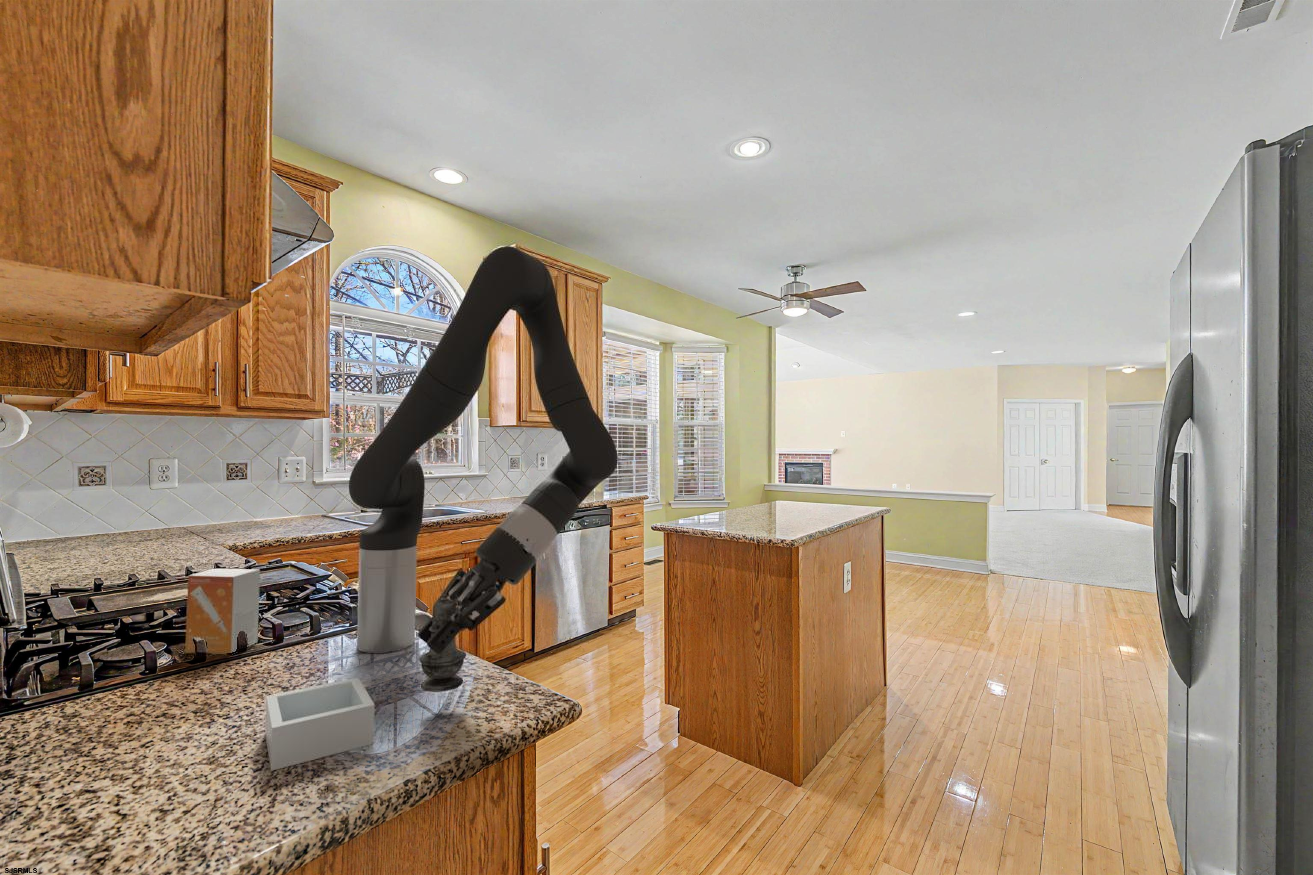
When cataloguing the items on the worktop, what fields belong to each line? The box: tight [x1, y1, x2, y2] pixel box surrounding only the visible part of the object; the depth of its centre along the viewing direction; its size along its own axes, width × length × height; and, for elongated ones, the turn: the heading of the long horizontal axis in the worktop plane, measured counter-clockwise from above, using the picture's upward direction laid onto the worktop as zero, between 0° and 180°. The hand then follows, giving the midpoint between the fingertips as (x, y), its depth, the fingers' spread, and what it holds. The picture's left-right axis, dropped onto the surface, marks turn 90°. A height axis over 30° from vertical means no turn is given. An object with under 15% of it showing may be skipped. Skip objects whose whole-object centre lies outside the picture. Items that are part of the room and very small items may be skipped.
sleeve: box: [264, 677, 375, 772], centre depth 69 cm, size 10×10×4 cm
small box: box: [184, 568, 261, 655], centre depth 100 cm, size 8×6×13 cm
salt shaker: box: [418, 592, 467, 693], centre depth 77 cm, size 6×6×12 cm
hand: (427, 644), depth 76 cm, fingers closed on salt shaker, 3 cm apart
